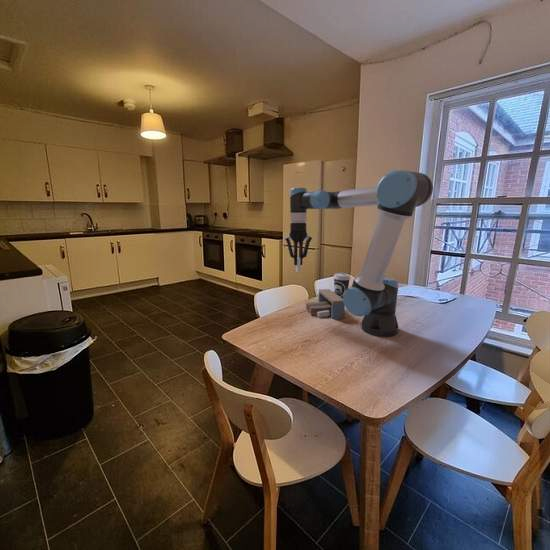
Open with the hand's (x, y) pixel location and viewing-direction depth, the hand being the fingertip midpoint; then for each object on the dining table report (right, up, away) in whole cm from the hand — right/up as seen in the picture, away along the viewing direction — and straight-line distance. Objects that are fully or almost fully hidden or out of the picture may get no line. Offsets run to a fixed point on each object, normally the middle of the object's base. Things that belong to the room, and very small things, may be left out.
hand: (298, 271), depth 141 cm
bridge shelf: (+14, -20, +8) cm, 25 cm away
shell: (+12, -20, +8) cm, 25 cm away
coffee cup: (+26, -16, +26) cm, 40 cm away
